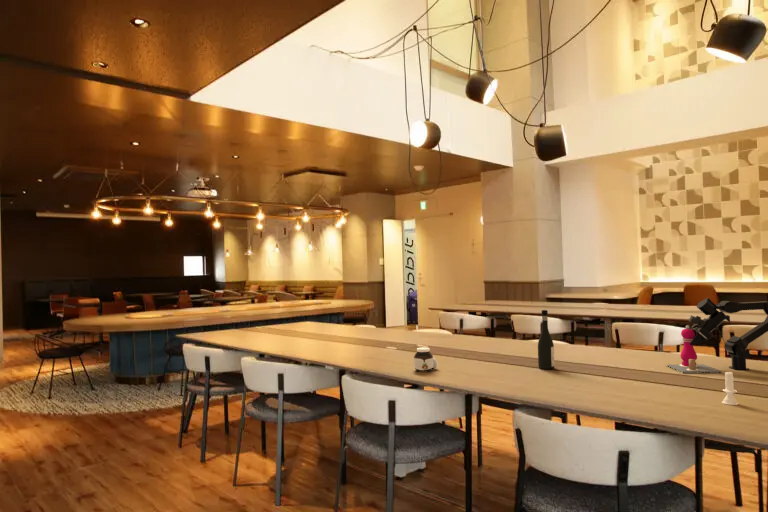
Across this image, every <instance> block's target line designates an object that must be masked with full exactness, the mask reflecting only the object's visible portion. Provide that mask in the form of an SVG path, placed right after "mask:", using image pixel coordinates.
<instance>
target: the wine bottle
mask: <svg viewBox="0 0 768 512" xmlns="http://www.w3.org/2000/svg"><path fill="white" fill-rule="evenodd" d="M541 318H542V319H541V322H542V323H541V324H542V325H541V326H542V327H541V328H542V329H541V332H540V336H539V339H538V342H537V362H538V365H537V366H538V368H539V369H542V370H553V369H554V368H555V346H554V345H555V344H554V341H553V338H552V336H551V334H550V331H549V325H548V323H549V322H548V310H547V309H542V310H541Z"/></svg>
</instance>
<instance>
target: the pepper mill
mask: <svg viewBox="0 0 768 512" xmlns="http://www.w3.org/2000/svg"><path fill="white" fill-rule="evenodd" d="M690 327H691V326H690V325H688V324H687V325H685V328H684V329H682V330H681V333H680V335H681V337H682V341H681V342H682V343H683V347H682V349H681V352H680V359H681V360H682V361H681V364H682V365H683V366H688V367H689V359H695V361H697V360H698V355H697V352H696V349H695V348H694V345H690V342H691V341H692V340H693V337H694V336H695V332H694V331H693V330H692V329H691V328H690Z"/></svg>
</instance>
